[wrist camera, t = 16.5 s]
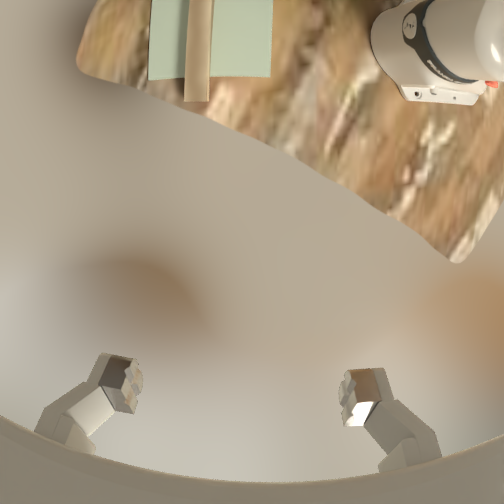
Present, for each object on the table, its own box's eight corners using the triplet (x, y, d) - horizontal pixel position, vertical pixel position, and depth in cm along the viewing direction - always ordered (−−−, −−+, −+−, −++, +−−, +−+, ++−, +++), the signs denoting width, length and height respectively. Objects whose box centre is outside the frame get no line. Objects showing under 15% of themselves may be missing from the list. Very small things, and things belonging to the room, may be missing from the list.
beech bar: (216, -18, 30) (213, -25, 28) (208, 101, 40) (205, 101, 37) (196, -17, 30) (192, -24, 27) (188, 101, 40) (184, 101, 37)
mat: (274, -36, 29) (274, -37, 28) (269, 77, 38) (270, 77, 38) (156, -29, 29) (155, -30, 28) (149, 80, 38) (148, 80, 38)
